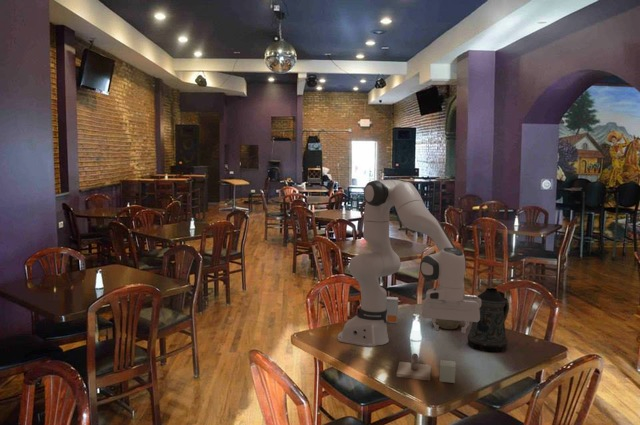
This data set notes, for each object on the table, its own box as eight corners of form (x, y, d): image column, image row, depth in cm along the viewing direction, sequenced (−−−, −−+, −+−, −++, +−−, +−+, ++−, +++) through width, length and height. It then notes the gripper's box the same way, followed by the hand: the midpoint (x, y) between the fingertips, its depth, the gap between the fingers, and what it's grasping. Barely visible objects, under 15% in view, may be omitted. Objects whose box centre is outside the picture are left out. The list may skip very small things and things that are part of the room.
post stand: (396, 376, 193) (397, 357, 192) (399, 364, 204) (400, 346, 204) (429, 380, 190) (430, 361, 189) (431, 368, 201) (431, 349, 201)
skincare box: (384, 322, 258) (385, 298, 257) (385, 320, 262) (385, 296, 261) (397, 323, 257) (398, 299, 256) (397, 320, 261) (398, 297, 260)
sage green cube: (439, 381, 189) (440, 365, 189) (439, 375, 195) (440, 359, 194) (454, 383, 188) (455, 366, 187) (454, 377, 193) (455, 361, 193)
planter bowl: (424, 322, 259) (425, 301, 258) (453, 320, 264) (454, 299, 263) (441, 333, 244) (442, 310, 243) (471, 330, 249) (472, 307, 248)
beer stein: (463, 348, 224) (466, 290, 222) (472, 335, 241) (475, 282, 239) (503, 355, 217) (507, 296, 214) (510, 342, 234) (514, 286, 231)
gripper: (481, 293, 189) (479, 331, 190) (423, 289, 194) (421, 326, 195) (482, 298, 183) (480, 337, 184) (422, 293, 188) (421, 331, 189)
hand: (449, 331), depth 189 cm, fingers open, 8 cm apart
